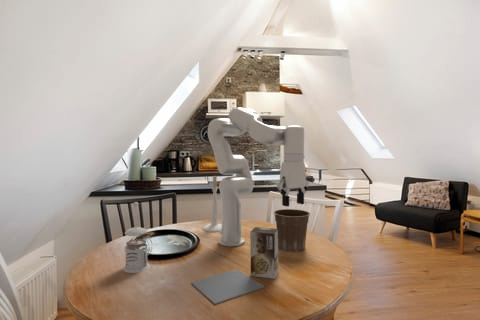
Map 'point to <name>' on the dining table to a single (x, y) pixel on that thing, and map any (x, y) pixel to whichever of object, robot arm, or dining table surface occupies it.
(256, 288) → the mat
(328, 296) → the dining table surface
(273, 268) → the coffee box
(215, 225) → the candlestick
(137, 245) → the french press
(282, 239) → the plant pot
